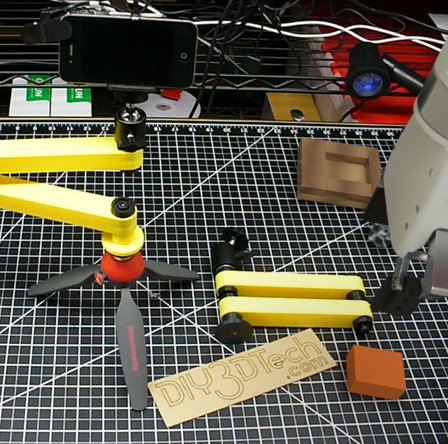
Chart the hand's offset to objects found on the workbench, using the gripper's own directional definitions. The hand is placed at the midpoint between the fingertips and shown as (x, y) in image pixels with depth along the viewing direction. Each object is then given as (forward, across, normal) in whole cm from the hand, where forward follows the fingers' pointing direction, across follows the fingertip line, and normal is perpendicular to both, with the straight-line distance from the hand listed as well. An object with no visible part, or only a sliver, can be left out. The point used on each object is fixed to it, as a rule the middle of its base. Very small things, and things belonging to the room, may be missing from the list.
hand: (383, 263), depth 50 cm
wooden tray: (+23, +35, -4) cm, 42 cm away
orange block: (+23, +2, -7) cm, 24 cm away
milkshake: (+23, +24, -9) cm, 35 cm away
